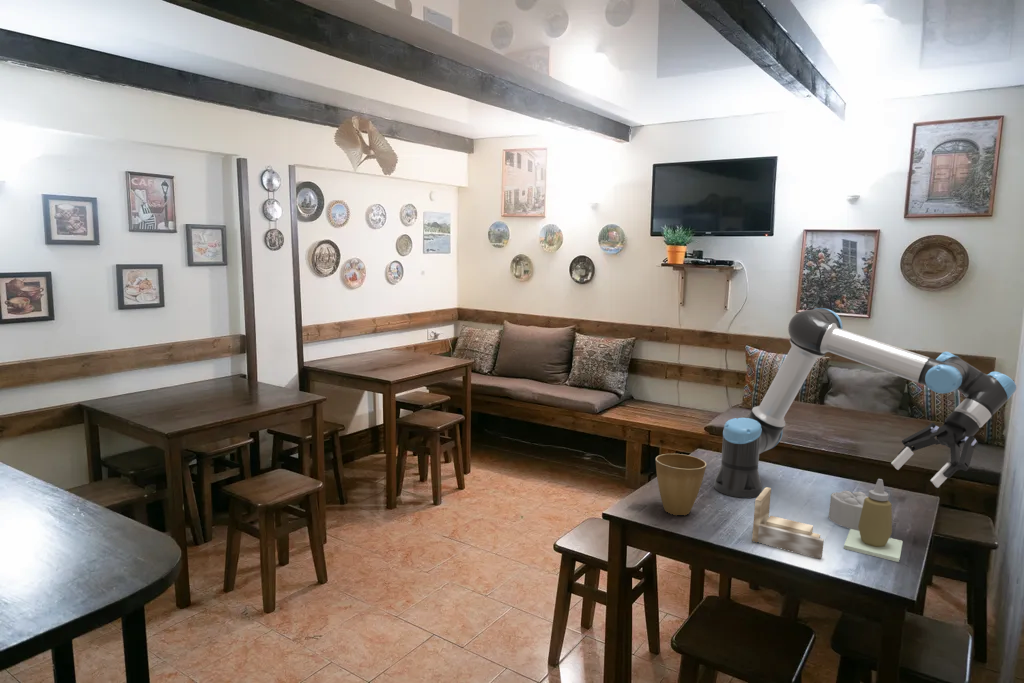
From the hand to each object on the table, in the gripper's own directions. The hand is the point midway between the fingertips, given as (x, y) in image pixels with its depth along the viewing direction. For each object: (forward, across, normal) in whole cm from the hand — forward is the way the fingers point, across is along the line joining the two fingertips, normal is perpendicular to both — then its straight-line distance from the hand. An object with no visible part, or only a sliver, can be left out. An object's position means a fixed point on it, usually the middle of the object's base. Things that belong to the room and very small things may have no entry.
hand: (913, 475), depth 179 cm
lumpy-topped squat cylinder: (+18, +15, -11) cm, 26 cm away
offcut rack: (+36, +5, +9) cm, 38 cm away
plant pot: (+52, +30, +24) cm, 65 cm away
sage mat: (+21, 0, -6) cm, 22 cm away
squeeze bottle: (+21, 0, -6) cm, 22 cm away
